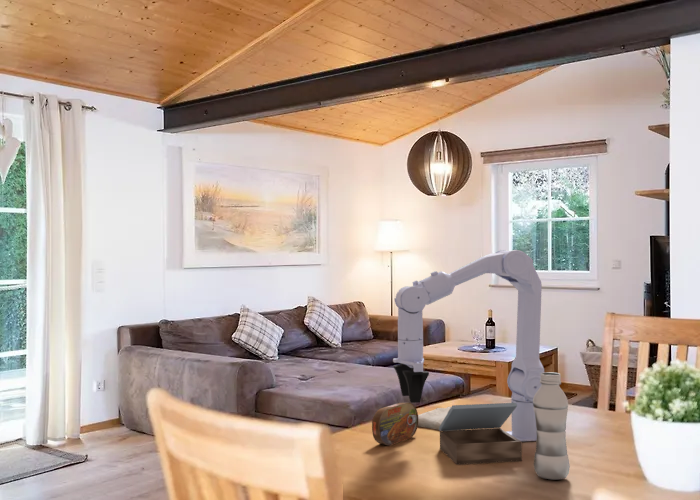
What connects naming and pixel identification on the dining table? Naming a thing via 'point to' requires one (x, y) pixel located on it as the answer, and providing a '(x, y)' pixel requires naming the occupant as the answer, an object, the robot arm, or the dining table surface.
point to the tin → (395, 423)
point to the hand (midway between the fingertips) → (410, 398)
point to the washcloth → (433, 418)
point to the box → (480, 446)
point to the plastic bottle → (551, 428)
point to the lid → (477, 416)
